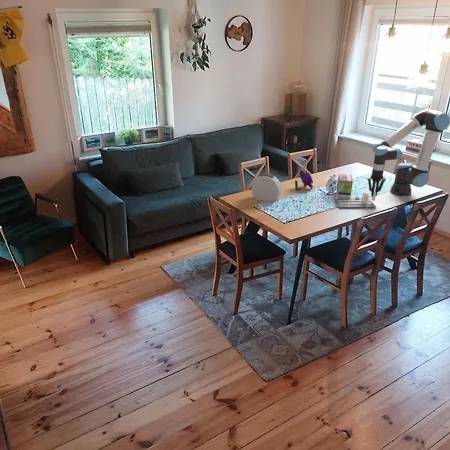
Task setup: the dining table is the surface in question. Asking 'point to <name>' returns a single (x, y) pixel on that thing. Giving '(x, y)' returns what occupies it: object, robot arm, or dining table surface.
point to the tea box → (344, 186)
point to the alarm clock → (266, 188)
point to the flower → (304, 180)
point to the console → (354, 204)
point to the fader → (365, 198)
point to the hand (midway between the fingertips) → (373, 200)
